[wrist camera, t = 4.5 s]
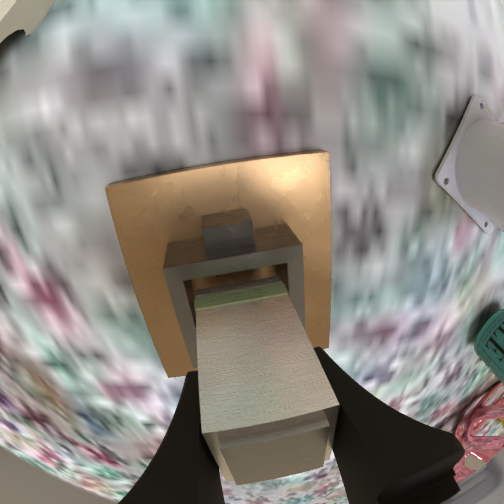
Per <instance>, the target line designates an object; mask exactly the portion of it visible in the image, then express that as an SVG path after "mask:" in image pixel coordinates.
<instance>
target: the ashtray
mask: <svg viewBox="0 0 504 504" xmlns="http://www.w3.org/2000/svg"><path fill="white" fill-rule="evenodd" d="M54 2H55V0H0V43H1V42H2V41H3V40H4V39H5V38H6V37H7V36H8V35H10V34H12V33H13V32H15V31H16V30H21V29H24V31H25V33H26V35H25V36H27V35H28V34H32V32H33V31H34V30H35V29H36V27H37V26H38V25H39V24H40V23H41V21H42V20H43V19H44V18H45V16H46V15H47V13H48V11H49V10H50V8H51V7H52V5H53V4H54Z"/></svg>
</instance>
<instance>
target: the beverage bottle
mask: <svg viewBox="0 0 504 504" xmlns="http://www.w3.org/2000/svg"><path fill="white" fill-rule="evenodd" d="M474 349H475V351H476V355H478V356H479V357H480V358H481V359H482V360H483V361H484V363H485V364H486V366H488V367H489V368H490V369H491V370H492V372H493V373H494V374H495V375H496V376H495V377H498V378H499V380H500V381H501V382H502V383H503V384H502V385H504V309H501V310H499V311H497V312H496V313H495V314H494V315H492V316H491V317H490V319H489V320H488V321H487V322H486V323H485V325H484V326H483V327H482V329H481V330H480V332H479V334H478V336H477V338H476V340H475V344H474ZM482 360H481V361H482ZM489 368H488V369H489ZM501 382H500V383H501Z"/></svg>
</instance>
